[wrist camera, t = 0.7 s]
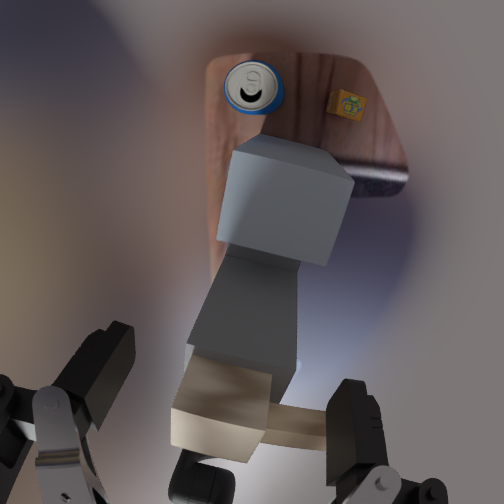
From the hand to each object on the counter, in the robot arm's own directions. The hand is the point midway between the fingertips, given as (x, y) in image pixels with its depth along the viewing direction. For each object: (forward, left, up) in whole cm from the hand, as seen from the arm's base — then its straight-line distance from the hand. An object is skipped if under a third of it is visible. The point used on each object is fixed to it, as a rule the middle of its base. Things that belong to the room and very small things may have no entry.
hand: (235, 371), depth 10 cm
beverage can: (+11, +5, -38) cm, 40 cm away
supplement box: (+12, -6, -38) cm, 40 cm away
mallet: (-11, -5, -8) cm, 14 cm away
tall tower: (-11, 0, -38) cm, 39 cm away
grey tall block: (+1, -1, -38) cm, 38 cm away
